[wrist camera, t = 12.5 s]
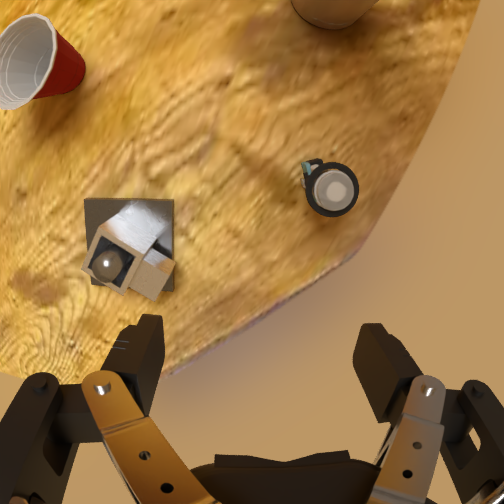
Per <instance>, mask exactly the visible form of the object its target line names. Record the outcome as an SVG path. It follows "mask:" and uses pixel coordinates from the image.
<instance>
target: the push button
mask: <svg viewBox="0 0 504 504" xmlns="http://www.w3.org/2000/svg"><path fill="white" fill-rule="evenodd" d="M301 165H302V168H303V171H304V173H303V174H304V178H305V179H304V180H303V179H301V183H302V186H303V188H305V191H306V197H307V200H308V202H309V204H310V206H311V207H312V208H313V209H314V210H315V211H316V212H317V213H319V214H321V215H323V216H326V217H338V216H341V215H343V214H345V213H347V212H348V211H349V210H350V209H351V208H352V207H353V206H354V205H355V203H356V201H357V198H358V194H359V184H358V180H357V178H356V176H355V174H354V173H353V172H352V170H351V169H350V168H348V167H347V166H345V165H343V164H340V163H336V162H328V163H324V164H323V161H322V159H318V158H317V159H313V160H310V161H306V162H302V163H301ZM327 169H338V170H340V171H338V170H327ZM317 204H318V205H317Z"/></svg>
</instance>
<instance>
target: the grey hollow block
mask: <svg viewBox="0 0 504 504" xmlns="http://www.w3.org/2000/svg"><path fill="white" fill-rule="evenodd" d="M156 239H157V238H156V237H155V236H153V235H151V234H150V233H148V232H146V231H145V230H143V229H141V228H140V227H138V226H137V225H135V224H133V223H132V222H130V221H128V220H127V219H125V218H124V217H122V216H120V215H119V214H117V215H115V216H114V217H112V218H111V219H109V220H108V221H106V222H105V223H103V224H102V225H100V226H99V227H98V229H97V232H96V234H95V236H94V238H93V241H92V243H91V246H90V248H89V250H88V253H87V255H86V258H85V260H84V263H83V265H82V268H81V270H83V271H84V272H86V273H87V274H89V275H91V276H92V277H94V278H95V279H97V278H96V277H95V276H94V274H93V272H92V263H93V261H94V260H95V259H96V258H97V257H98V256H99V255H100V254H102V253H103V252H104V251H105V250H106V249H107V247H108V245H109V243H110V241H112V242H113V243H115V244H117V245H118V246H120V247H121V248H123V249H125V250H126V251H128V252H129V253H131V254H133V255H134V256H136V257H135V259H134V261H133V263H132V265H131V266H130V265H129V264H127V265H126V266H125V267H124V268H123V269H122V271H121V272H120V273H119V274H118V275H117V277H116V278H115V279H114V280H113V281H112V282H110V283H103V282H102V283H103V284H105V285H106V286H108V287H110V288H111V289H113V290H114V291H116V292H118V293H119V294H121V295H124V294H125V292H126V291H127V289H128V288H129V287H130V288H132V289H134V290H135V291H137V292H139V293H140V294H142V295H144V296H145V297H147V298H149V299H151V300H152V301H154V302H155V300H156V299H157V297H158V295H159V293H160V292H161V290H162V288H163V286H164V285H165V283H166V281H167V279H168V278H169V276H170V274H171V272H172V270H173V268H174V266H175V264H176V262H174V261H173V260H171V259H169V258H168V257H166V256H164V255H163V254H161V253H159V252H158V251H156V250H154V249H153V248H152V246H153V245H154V243H155V241H156ZM97 280H98V279H97ZM98 281H99V280H98ZM100 282H101V281H100Z"/></svg>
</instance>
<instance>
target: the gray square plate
mask: <svg viewBox="0 0 504 504" xmlns="http://www.w3.org/2000/svg"><path fill="white" fill-rule="evenodd" d="M173 208H174V200H172V199H138V198H86V199H84V210H85V226H86V239H87V250H89V248H90V246H91V243H92V241H93V238H94V236H95V234H96V232H97V229H98V227H99V226H100V225H102V224H103V223H105V222H106V221H108V220H109V219H111V218H112V217H114V216H115V215H117V214H119V215H120V216H122V217H124V218H125V219H127V220H128V221H130V222H132V223H133V224H135V225H137V226H138V227H140V228H141V229H143V230H145V231H146V232H148V233H150V234H151V235H153V236H155V237H156V238H157V239H156V241H155V243H154V245H153V246H152V248H153V249H154V250H156V251H158V252H159V253H161V254H163V255H164V256H166V257H168V258H169V259H171V260H173V261H174V257H173ZM135 257H136V256H134V255H133V254H131V253H129V252H128V251H126V250H125V249H123V248H121V247H120V246H118V245H117V244H115V243H113V242H112V241H110V243H109V245H108V247H107V249H106V250H105V251H104V252H103V253H102V254H100V255H99V256H98V257H97V258H96V259H95V260H94V261H93V263H92V272H93V274H94V276H95V277H96V278H97V279H98V280H99V281H98V280H97V279H95V278H94V277H92V276H91V275H90V276H91V284H92V285H101V286H106V285H105V284H103V283H110V282H112V281H113V280H114V279H115V278H116V277H117V275H118V274H119V273H120V272H121V271H122V269H123V268H124V267H125V266H126V265H127V264H129V265H130V266H131V265H132V263H133V261H134V259H135ZM100 281H101V282H100ZM102 282H103V283H102ZM129 288H130V287H129ZM173 290H174V268H173V270H172V272H171V274H170V276H169V278H168V279H167V281H166V283H165V285H164V286H163V288H162V290H161V291H172V292H173Z"/></svg>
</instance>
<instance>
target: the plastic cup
mask: <svg viewBox="0 0 504 504" xmlns="http://www.w3.org/2000/svg"><path fill="white" fill-rule="evenodd" d="M84 73H85V62H84V60H83V58H82V57H81V55H80V54H79V53H78V52H77V51H76V50H75V49H74V47H73V46H72V45H71V44H70V43H68V42H67V41H66V40H65V39H64V38H63V37H62V36H61V35H60V34H59V33H58V32H57V30H55V28H54V27H53V25H52V23H51V21H50V20H49V19H48V18H47V17H44V16H42V15H40V14H37V13H35V14H29V15H24V16H22V17H20V18H19V19H17V20H16V21H14V22H13V23H11V24H10V25H9V26H8V27H7V28H6V29H5V30H4V31H3V33H2V34H1V35H0V108H1V109H10V110H15V109H17V108H18V107H20V106H22V105H24V104H26V103H28V102H29V101H31V100H32V99H37V98H42V97H48V96H54V95H57V94H64V93H67V92H69V91H72V90H73V89H75V88H76V87H77V86H78V85H79V84H80V82H81V80H82V79H83V77H84Z"/></svg>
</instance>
